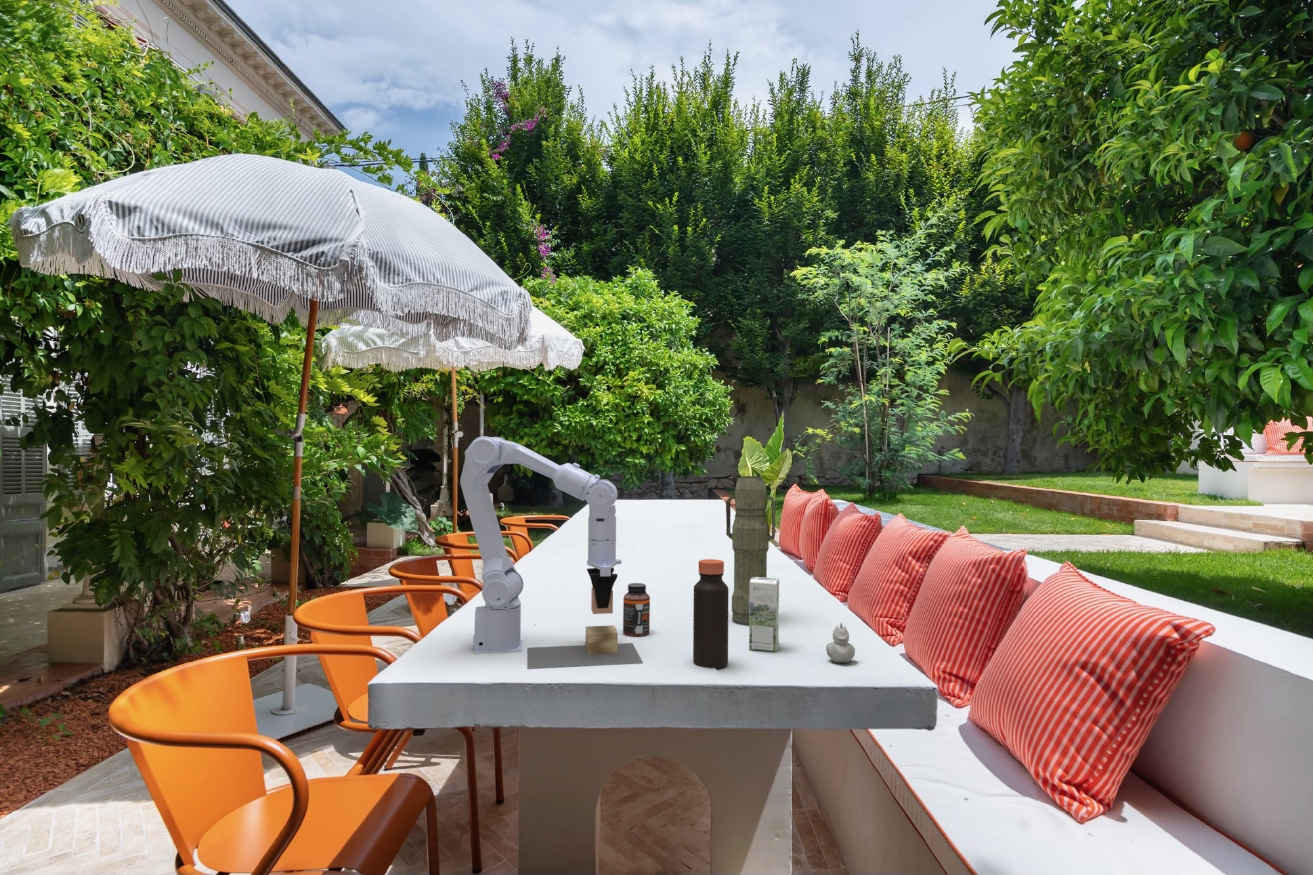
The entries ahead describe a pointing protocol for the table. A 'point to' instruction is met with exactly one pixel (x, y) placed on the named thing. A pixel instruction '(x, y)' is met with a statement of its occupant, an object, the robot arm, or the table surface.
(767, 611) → the syrup box
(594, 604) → the terracotta block
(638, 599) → the supplement bottle
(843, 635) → the rubber duck
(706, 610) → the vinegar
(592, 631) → the oak block
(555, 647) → the mat
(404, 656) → the table surface
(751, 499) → the thermos
